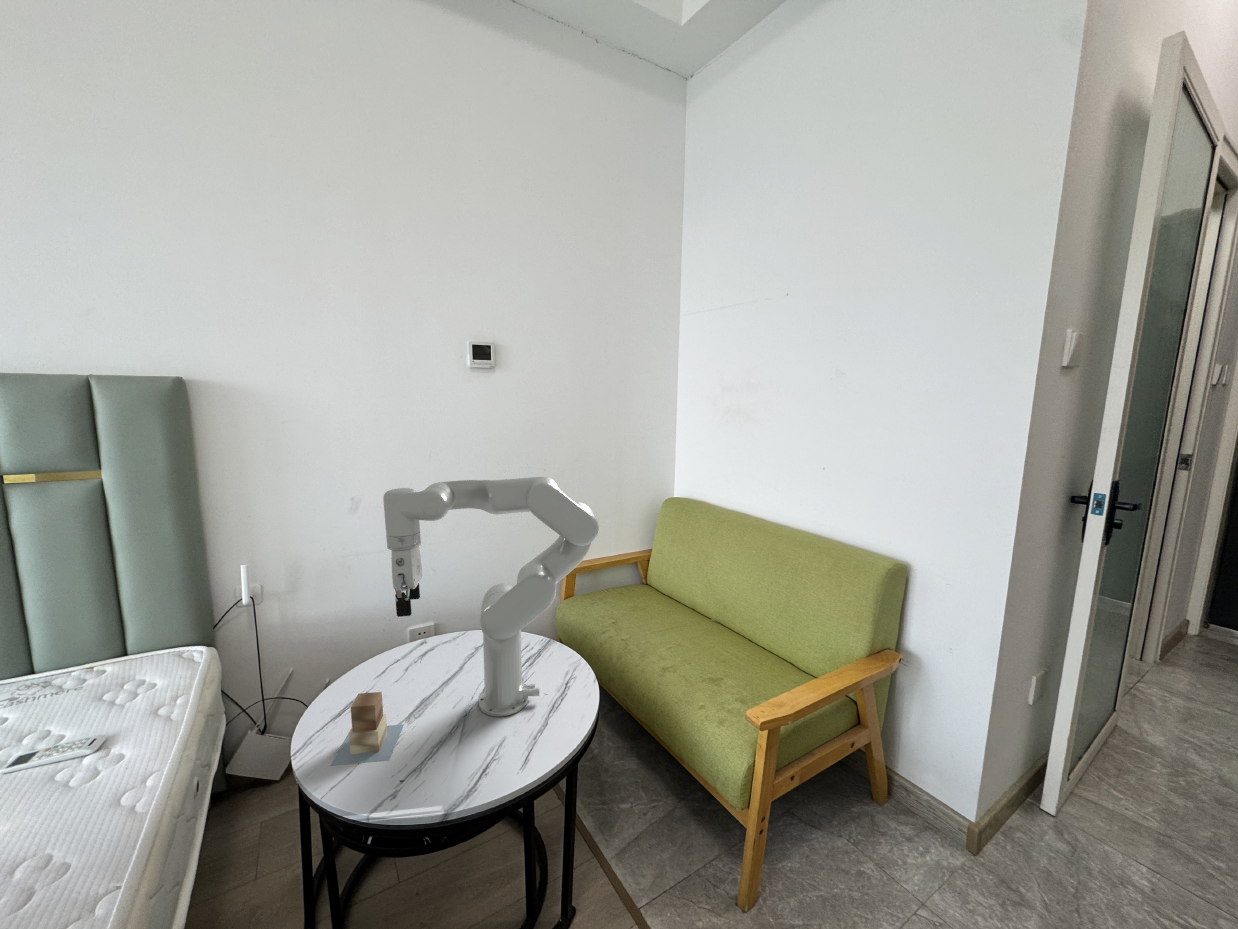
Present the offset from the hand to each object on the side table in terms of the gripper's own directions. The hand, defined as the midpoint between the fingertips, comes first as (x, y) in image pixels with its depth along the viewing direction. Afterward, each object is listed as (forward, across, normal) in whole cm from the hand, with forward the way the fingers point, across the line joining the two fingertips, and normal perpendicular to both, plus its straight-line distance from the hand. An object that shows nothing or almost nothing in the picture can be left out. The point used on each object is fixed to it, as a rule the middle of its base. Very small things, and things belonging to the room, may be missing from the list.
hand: (409, 607), depth 124 cm
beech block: (+27, -12, +8) cm, 30 cm away
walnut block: (+22, -12, +8) cm, 26 cm away
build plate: (+28, -12, +8) cm, 31 cm away
